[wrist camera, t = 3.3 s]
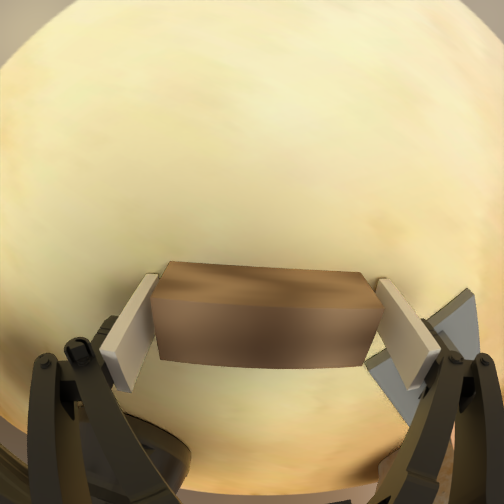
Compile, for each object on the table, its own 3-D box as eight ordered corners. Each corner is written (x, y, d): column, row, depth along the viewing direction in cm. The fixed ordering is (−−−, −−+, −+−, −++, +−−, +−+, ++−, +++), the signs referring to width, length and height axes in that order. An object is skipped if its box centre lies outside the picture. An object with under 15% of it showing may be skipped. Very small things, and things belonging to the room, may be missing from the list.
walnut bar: (175, 315, 17) (160, 359, 13) (171, 259, 15) (150, 297, 12) (344, 323, 17) (361, 366, 14) (359, 270, 16) (385, 308, 12)
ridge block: (407, 422, 24) (425, 468, 18) (364, 361, 19) (393, 436, 12) (476, 375, 22) (502, 415, 15) (467, 287, 16) (520, 342, 10)
